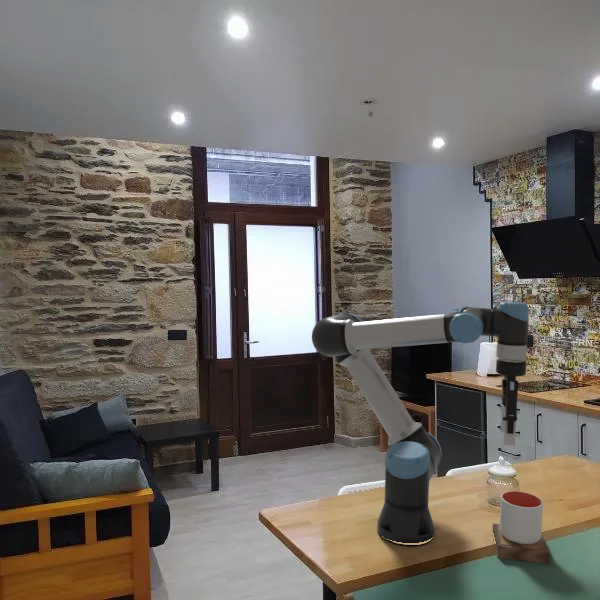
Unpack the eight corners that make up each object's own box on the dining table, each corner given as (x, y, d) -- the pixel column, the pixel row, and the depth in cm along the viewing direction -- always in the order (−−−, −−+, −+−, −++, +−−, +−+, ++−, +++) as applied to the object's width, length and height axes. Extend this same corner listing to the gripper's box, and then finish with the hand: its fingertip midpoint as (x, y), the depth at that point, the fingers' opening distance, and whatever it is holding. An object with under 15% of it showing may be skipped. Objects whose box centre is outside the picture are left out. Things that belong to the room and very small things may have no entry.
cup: (545, 548, 138) (547, 509, 137) (502, 544, 139) (504, 505, 139) (536, 529, 147) (538, 492, 146) (496, 525, 149) (498, 489, 148)
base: (497, 557, 139) (497, 545, 139) (492, 534, 151) (492, 522, 151) (549, 564, 136) (549, 551, 136) (539, 539, 148) (540, 528, 148)
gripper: (531, 369, 136) (526, 453, 138) (522, 352, 160) (518, 424, 162) (498, 367, 139) (494, 450, 140) (494, 351, 162) (491, 422, 164)
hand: (507, 436), depth 151 cm, fingers open, 13 cm apart
